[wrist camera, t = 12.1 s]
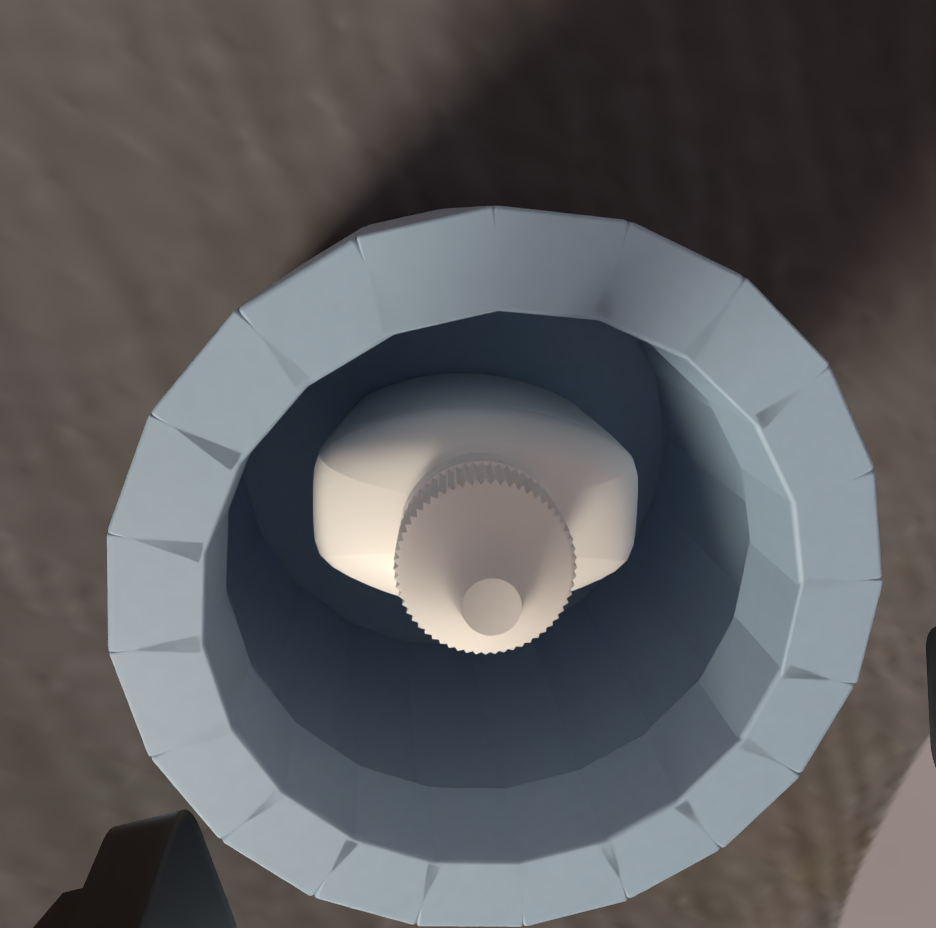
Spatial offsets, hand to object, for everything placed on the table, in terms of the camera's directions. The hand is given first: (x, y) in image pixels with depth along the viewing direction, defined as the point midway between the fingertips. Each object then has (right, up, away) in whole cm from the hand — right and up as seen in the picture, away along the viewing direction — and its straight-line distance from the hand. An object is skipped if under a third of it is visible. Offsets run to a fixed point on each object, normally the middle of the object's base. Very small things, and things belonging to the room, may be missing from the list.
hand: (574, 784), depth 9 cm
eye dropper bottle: (-1, +4, +13) cm, 13 cm away
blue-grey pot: (-2, +4, +14) cm, 14 cm away
